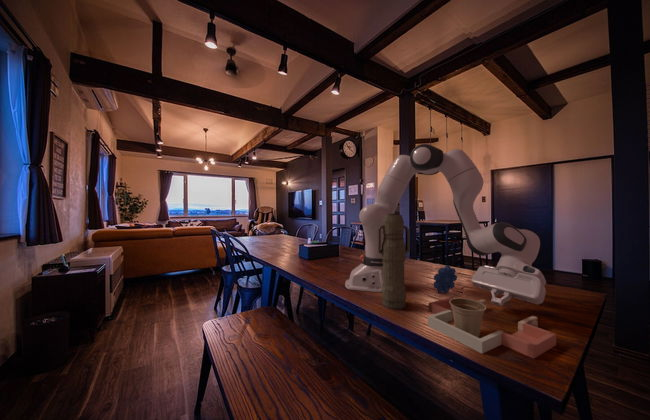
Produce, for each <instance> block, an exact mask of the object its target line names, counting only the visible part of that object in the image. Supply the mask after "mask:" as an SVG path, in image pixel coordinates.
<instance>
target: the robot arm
mask: <svg viewBox="0 0 650 420" xmlns="http://www.w3.org/2000/svg"><path fill="white" fill-rule="evenodd" d="M438 173H441V174H442V175H443V176H444V178H445V180H446V181H447V184H448V185H449V187H450V190H451V193H452V202H453V206H454V209H455V212H456V214H457V216H458V219H459V221H460V225H461V227H462V229H463V231H464V235H465V240H466V241H465V242H466V244H467V246H468V248H469V250H470V251H471V252H472V253H474V254H476V255H478V256H484V257H485V256H488V255H492V254H494V253H500V254H501V256H500V258H499V261H498V262H497V265H495V266H493V265H487V264H484V265H481V266H480V265H479V267H478V269H477V270H476V271H475V272H474V274H473V275H472V277H471V278H470V279H471V283H472V284H473V286H474V287H475V288H478V289H481V290H486V291H488V292H490V293H491V299H490V302H491V303H492V304H493V305H496V306H499V307H503V306H505V305H504V304H505V303H507V302H508V301H510V300H511V299H512V298H513V299H517V300H520V301H525V302H527V303H531V304H535V305H541V304H543V303H544V300H545V297H546V292H547V290H546V287H545V286H546V284H547V280H546V279H545V275H544V274H543V273H542V271H541V270H540V269H538V268H536V267H534V266H532V265H533V263H534V262H535V261H536V259H537V257H538V254H539V251H540V248H541V240H540V237H539V236H538V235H537V233H535V232H534V231H531V230H528V229H525V228H523V229H522V228H521V229H520V228H516V227H515V226H513V225H512V224H510V223H508V222H504V221H500V222H496V223H493V224H490V225H488V226H485V227H481V223H480V222H479V220H478V218H477V215H476V213H475V209H474V204H475V201H476V199H477V197H478V195H479V194H480V193H481V192H482V189H483V187H484V178H483V176H482V174H481V172H480V170H479V169H478V167H477V165H476V164H475V163H474V161H473V160H472V159H471V157H470V156H468V154H467V153H466V152H465V151H464V150H463V149H459V148H456V149H455V148H454V149H451V150H449V151H448V150H447V152H444V151H443V150H442V149H440V148H438V147H436V146H433V145H432V144H428V143H422V144H418V145H416V146H415V147H414V148H413V149H412V150H411V151H410V153H409V155H407V154H400V155H397V156H396V158H394V160H393V162H392V163H391V164H390V166H389V167H388V169H387V171H386V172H385V173H384V177H383V178H382V180H381V182H380V184H379V186H378V187H377V194H376V197H375V200H374V203H370V204H368V205H366V206H364V207H362V209H360V211H359V214H358V218H359V221H360V223H361V226H362V229H363V233H364V241H365V242H364V243H365V255H363V254H361V255H360V256H359V258H360V261H361V263H360V264H358V265H357V266H356V267H355V268H354V269H352V270H351V272H350V275H349V278H348V279H346V280H345V282H344V283H345V284H344V286H345V288H346V289H347V290H350V291H351V290H352V291H363V292H371V293H372V292H373V293H382V284H383V260H382V254H381V253H378V237H377V229H378V228H379V226H382V225H383V220H384V217H385V215H387V214H396V213H395V212H396V210H397V207H398V205H399V202H400V200H401V198H402V196H403V195H404V192H405V190H406V189H407V188H408V187H407V186H408V185H409V183H410V182H411V180H412V178H413V176H414V175H416V174H418V175H425V176H433V175H437V174H438ZM383 237H384V234H383V228H381V249H382V242H383ZM499 295H503V296H502V297H501V298H498V297H497V296H499Z"/></svg>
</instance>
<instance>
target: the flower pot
mask: <svg viewBox="0 0 650 420" xmlns="http://www.w3.org/2000/svg"><path fill="white" fill-rule="evenodd" d="M453 298H454V299H451V300H450V301H449V303H450V304H451V308H452V310H453V317H454V320H453V323H454V327H456V328H458V329H461V330H463V331H465V332H467V333H469V334H471V335H474V336H476V337H478V338H480V335H481V329H482V328H481V327H482V323H483V317H484V315H485V311H486V310H487V305H486V306H485V305H484V304H482V303H480V302H478V301H479V300H474V299H470V298H464V297H453Z"/></svg>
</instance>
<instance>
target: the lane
mask: <svg viewBox="0 0 650 420" xmlns="http://www.w3.org/2000/svg"><path fill="white" fill-rule="evenodd" d="M477 301H478V302H480V303H482V304H484V305H485V306H486V307H487V305H486V303H487V302H486V300H485V299H479V300H477ZM538 320H539V319H538V316H535V315H531V316H529V317H526V318H524V319H522V320H520V321H518V322H517V332H520V333H523V324H524V323H526V324H529V325H532V326H535V327H538V325H539V324H538V322H539V321H538ZM538 328H539V327H538Z"/></svg>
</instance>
